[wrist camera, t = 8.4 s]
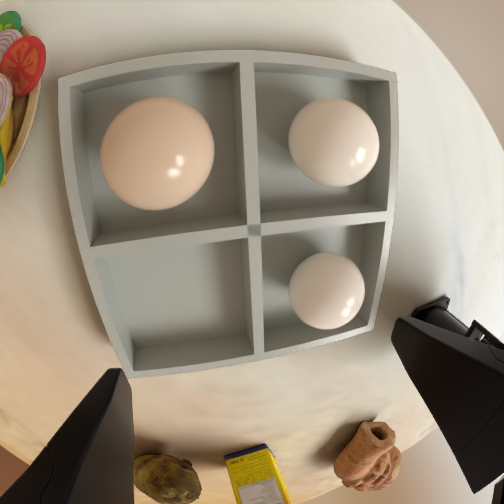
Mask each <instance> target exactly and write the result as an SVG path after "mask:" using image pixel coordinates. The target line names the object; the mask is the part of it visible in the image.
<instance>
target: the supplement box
mask: <svg viewBox="0 0 504 504" xmlns="http://www.w3.org/2000/svg"><path fill="white" fill-rule="evenodd" d="M225 461H226V465H227V469H228V473H229V477H230V481H231V484H232V488H233V492H234V495H235V498H236V502H237V504H293V502H292V499H291V497H290V495H289V492H288V490H287V487H286V485H285V482H284V480H283V477H282V474H281V472H280V469H279V467H278V464H277V462H276V459H275V456H274V455H273V454H272V452H271V451H270V449H269V448H268V446H267V445H266V444H264V445H261V446H258V447H255V448H252V449H249V450H245V451H242V452H239V453H235V454H231V455H228V456H225Z"/></svg>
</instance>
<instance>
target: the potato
mask: <svg viewBox="0 0 504 504" xmlns="http://www.w3.org/2000/svg"><path fill="white" fill-rule="evenodd" d="M133 474H134V485H135V486H136V487H137V488H138V489H139V490H140V491H141V492H143V493H144V494H146V495H148V496H149V497H150V498H152V499H153V500H155V501H157V502H159V503H161V504H190V503H192V502H193V501H195V500H196V499H198V498H199V495H200V493H201V490H202V488H201V484H200V481H199V478H198V475H197V473H196V472H195V470H194V469H193V468H192V464H191V462H190V461H189V460H185V459H183V460H180V459H178V458H176V457H173V456H170V455H143V456H140V457H138V458H136V459H135V460H134V470H133Z"/></svg>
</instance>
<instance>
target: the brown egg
mask: <svg viewBox="0 0 504 504" xmlns="http://www.w3.org/2000/svg"><path fill="white" fill-rule="evenodd" d="M214 148H215V146H214V139H213V135H212V132H211V129H210V127H209V125H208V123H207V121H206V120H205V118H204V117H203V116H202V114H201V113H200V112H199V111H198V110H197V109H195V108H194V107H193V106H191V105H190V104H188V103H186V102H184V101H182V100H179V99H177V98H172V97H166V96H156V97H149V98H145V99H142V100H139V101H137V102H135V103H133V104H131V105H129V106H128V107H126V108H125V109H123V110H122V111H121V112H120V113H119V114H118V115H117V116H116V117H115V118H114V119H113V120H112V122H111V123H110V125H109V126H108V128H107V130H106V132H105V134H104V137H103V140H102V144H101V150H100V164H101V169H102V173H103V176H104V179H105V181H106V183H107V185H108V186H109V188H110V189H111V190H112V191H113V193H114V194H115V195H116V196H117V197H118V198H120V199H121V200H122V201H124V202H125V203H127V204H129V205H131V206H133V207H136V208H139V209H144V210H164V209H169V208H172V207H175V206H177V205H179V204H181V203H183V202H185V201H186V200H188V199H189V198H191V197H192V196H193V195H194V194H195V193H196V192H197V191H198V190H199V189H200V188H201V187H202V185H203V184H204V183H205V181H206V179H207V178H208V176H209V173H210V171H211V169H212V165H213V161H214Z"/></svg>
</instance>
